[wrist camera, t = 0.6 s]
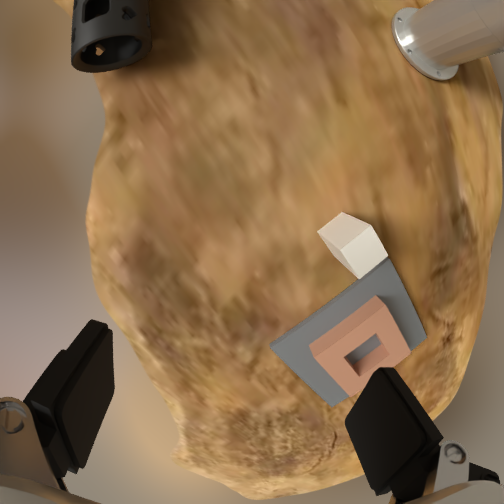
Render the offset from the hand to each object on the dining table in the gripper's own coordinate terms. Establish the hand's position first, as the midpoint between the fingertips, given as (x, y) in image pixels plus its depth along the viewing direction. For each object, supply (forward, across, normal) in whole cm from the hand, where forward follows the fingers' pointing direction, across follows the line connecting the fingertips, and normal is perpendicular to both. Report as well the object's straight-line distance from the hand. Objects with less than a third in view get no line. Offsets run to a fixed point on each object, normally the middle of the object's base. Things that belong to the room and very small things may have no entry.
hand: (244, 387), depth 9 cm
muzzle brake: (+26, +23, -30) cm, 46 cm away
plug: (+26, -13, -2) cm, 29 cm away
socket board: (+26, -21, +12) cm, 36 cm away
